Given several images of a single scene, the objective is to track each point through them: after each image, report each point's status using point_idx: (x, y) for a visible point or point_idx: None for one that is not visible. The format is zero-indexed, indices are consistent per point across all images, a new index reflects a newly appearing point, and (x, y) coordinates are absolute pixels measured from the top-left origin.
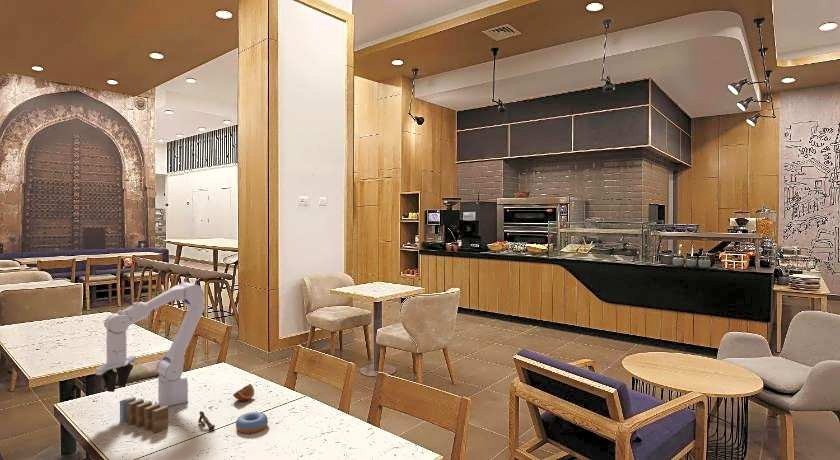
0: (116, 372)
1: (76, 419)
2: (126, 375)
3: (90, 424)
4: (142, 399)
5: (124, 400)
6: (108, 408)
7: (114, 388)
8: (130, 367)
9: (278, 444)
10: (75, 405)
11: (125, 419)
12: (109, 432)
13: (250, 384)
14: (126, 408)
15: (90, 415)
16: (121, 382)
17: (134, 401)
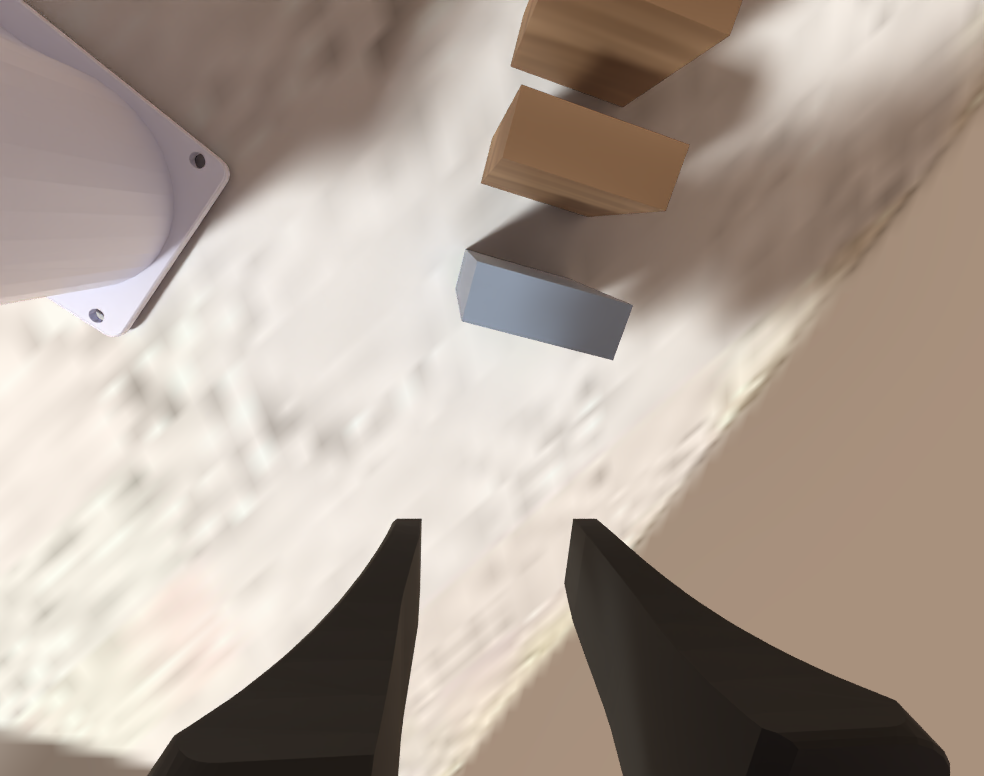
0: (824, 752)
1: (567, 604)
2: (389, 626)
3: (621, 475)
4: (517, 113)
5: (584, 326)
6: None
7: (599, 534)
8: (290, 765)
9: None
10: None
11: (554, 275)
12: (727, 251)
13: None
14: (568, 283)
15: (500, 579)
16: (415, 598)
17: (597, 174)
